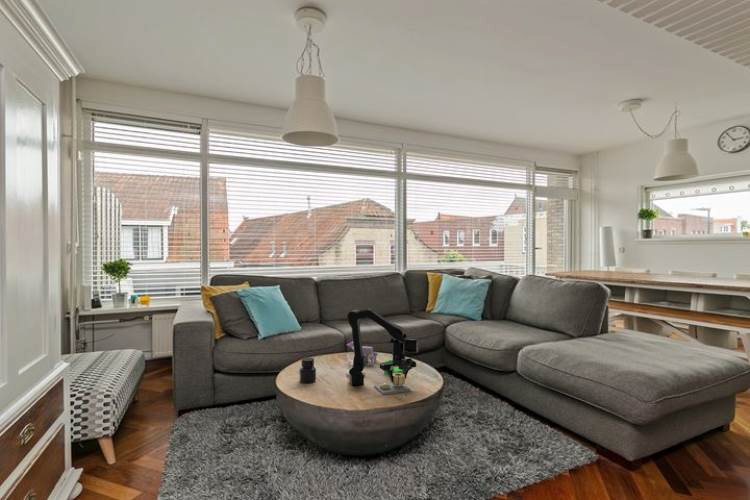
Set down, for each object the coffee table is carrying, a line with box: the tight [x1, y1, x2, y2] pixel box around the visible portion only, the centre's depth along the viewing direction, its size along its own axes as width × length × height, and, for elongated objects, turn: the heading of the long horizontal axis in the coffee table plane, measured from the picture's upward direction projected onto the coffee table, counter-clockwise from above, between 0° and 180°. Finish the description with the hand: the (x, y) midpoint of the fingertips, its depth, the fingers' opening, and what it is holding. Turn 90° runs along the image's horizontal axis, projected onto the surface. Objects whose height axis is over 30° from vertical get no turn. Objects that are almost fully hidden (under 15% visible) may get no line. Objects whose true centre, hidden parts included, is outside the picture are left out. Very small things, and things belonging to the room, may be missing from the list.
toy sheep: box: [346, 341, 378, 367], centre depth 259 cm, size 20×11×14 cm, turn 70°
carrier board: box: [373, 382, 411, 396], centre depth 212 cm, size 15×12×4 cm
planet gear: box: [391, 373, 406, 386], centre depth 213 cm, size 6×6×4 cm
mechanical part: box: [383, 359, 403, 376], centre depth 239 cm, size 12×6×8 cm, turn 130°
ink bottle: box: [298, 356, 317, 384], centre depth 225 cm, size 10×9×12 cm
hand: (398, 381), depth 213 cm, fingers closed on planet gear, 6 cm apart
